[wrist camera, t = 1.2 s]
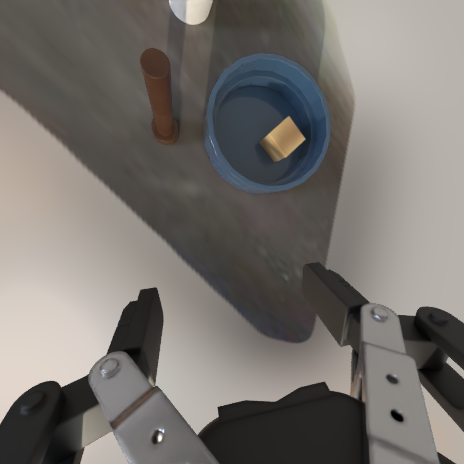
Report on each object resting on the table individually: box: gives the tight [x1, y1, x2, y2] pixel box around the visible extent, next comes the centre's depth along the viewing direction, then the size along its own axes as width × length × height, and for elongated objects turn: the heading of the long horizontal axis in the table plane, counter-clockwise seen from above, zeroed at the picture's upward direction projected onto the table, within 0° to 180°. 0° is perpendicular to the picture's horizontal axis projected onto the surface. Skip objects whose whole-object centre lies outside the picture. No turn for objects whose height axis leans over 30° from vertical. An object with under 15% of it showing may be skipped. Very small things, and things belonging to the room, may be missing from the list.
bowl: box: [203, 53, 331, 194], centre depth 32 cm, size 17×17×6 cm
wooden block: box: [259, 116, 305, 163], centre depth 33 cm, size 4×4×4 cm
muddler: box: [140, 48, 179, 145], centre depth 25 cm, size 4×4×15 cm
